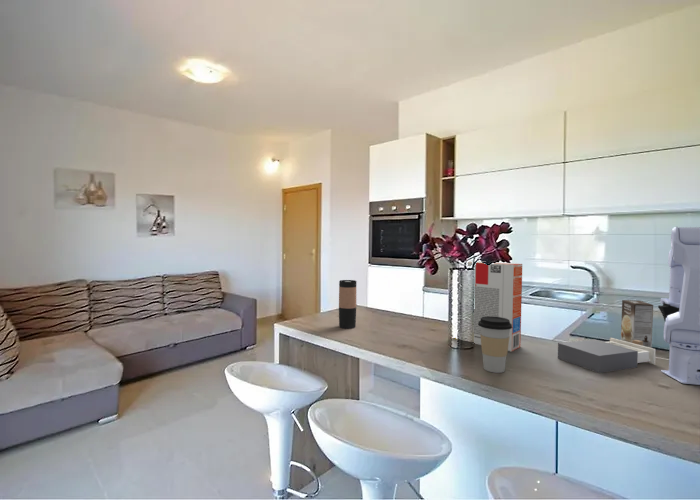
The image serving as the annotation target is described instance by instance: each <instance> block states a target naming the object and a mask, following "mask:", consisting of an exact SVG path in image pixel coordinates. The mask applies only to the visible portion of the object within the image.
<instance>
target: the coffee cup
mask: <svg viewBox="0 0 700 500" xmlns="http://www.w3.org/2000/svg"><path fill="white" fill-rule="evenodd" d="M478 325H479V326H480V329H481V334H480V335H481V345H480V346H481V353H482V362H483V363H482V364H483V369H484V370H485V371H487V372H489V373H497V374H501V373H504V372H505V371H506V370H505V369H506V364H507V363H506V362H507V356H508V352H509V351H508V345H509V333H510V329H511V328H512V324H511V323H510V321H509V319H506V318H502V317H493V316H487V317H482V318H481V321H479V322H478Z"/></svg>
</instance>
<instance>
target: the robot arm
mask: <svg viewBox="0 0 700 500" xmlns="http://www.w3.org/2000/svg"><path fill="white" fill-rule="evenodd" d="M670 235H671V236H670V249H669V251H668V259H667V263H668V268H669V290H668V291H669V292H668V297H661V298H660V304H661V305H658V306H657V309H659V311H660V313H661V315H662V317H663V321H664V323H663V341H665V342H666V343H668V345H669V357H668V358H669V359H668V369H667V370H665V369H661V370H660V372H661V373H663V374H664V375H667V376H668V377H670V378H672V379H674V380H676V381H678V382H679V383H681V384H684V385H697V386H700V226H698V227H697V226H685V227H684V226H681V227H680V226H679V227H678V226H674V227H672V229H671V234H670Z"/></svg>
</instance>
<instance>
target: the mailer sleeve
mask: <svg viewBox="0 0 700 500" xmlns="http://www.w3.org/2000/svg"><path fill="white" fill-rule="evenodd" d="M606 342H607V341H602V340H598V339H595V338H592V339H584V340H582V339H581V340H574V341H573V340H572V341H564V342H558V343H557V359H558V360H562V361H565V362H567V363H570V364H573V365H575V366H579V367H581V368H584V369H587V370H590V371H593V372H595V373H598V374H601V373H602V374H603V373H606V372H607V373H608V372H613V371H621V370H627V369H636V368H638V363H637V357H638V351H635V350H632V349H628V348H624V347H621V346H617V345H614V344H610V343H606Z"/></svg>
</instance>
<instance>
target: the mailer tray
mask: <svg viewBox="0 0 700 500" xmlns="http://www.w3.org/2000/svg"><path fill="white" fill-rule="evenodd" d="M605 342H606V343H610V344H614V345H617V346H621V347H624V348H628V349H632V350H635V351H638V357H637V364H638V363H639V364H640V363H648V364H653V365H655V364H656V348H653V347H652V348H649V347H645V346H643V341H640V340H632V343H630V342H626V341H622V340H621V339H617V338H614V337H610V338H609V341H605Z"/></svg>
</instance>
